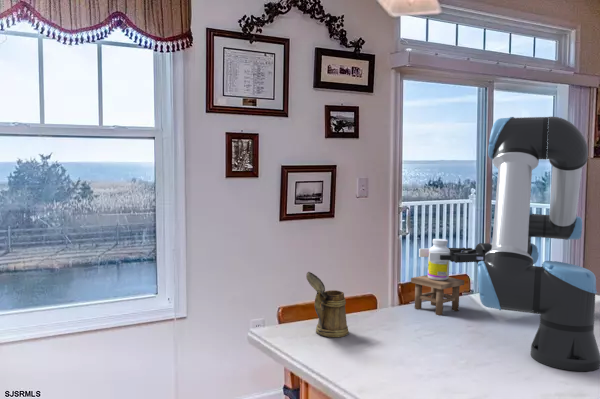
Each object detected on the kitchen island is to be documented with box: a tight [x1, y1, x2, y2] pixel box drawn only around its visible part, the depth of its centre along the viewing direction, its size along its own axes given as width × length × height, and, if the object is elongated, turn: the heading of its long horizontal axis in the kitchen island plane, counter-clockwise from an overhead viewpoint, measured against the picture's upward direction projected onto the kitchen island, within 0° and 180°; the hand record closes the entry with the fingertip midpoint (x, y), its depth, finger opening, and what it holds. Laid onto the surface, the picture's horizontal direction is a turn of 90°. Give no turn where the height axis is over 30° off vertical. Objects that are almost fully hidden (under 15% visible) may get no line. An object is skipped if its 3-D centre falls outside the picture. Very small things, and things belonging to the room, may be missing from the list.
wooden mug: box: [306, 271, 349, 339], centre depth 143 cm, size 9×14×18 cm, turn 128°
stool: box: [410, 274, 465, 316], centre depth 172 cm, size 12×12×10 cm
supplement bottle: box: [427, 238, 451, 281], centre depth 171 cm, size 7×7×13 cm
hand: (424, 254), depth 170 cm, fingers open, 8 cm apart
